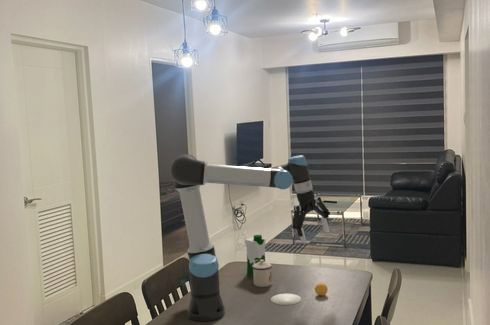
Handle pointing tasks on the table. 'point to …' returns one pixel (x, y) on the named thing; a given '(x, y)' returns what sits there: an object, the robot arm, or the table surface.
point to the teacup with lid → (262, 274)
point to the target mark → (286, 299)
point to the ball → (321, 289)
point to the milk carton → (254, 251)
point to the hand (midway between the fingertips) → (315, 237)
